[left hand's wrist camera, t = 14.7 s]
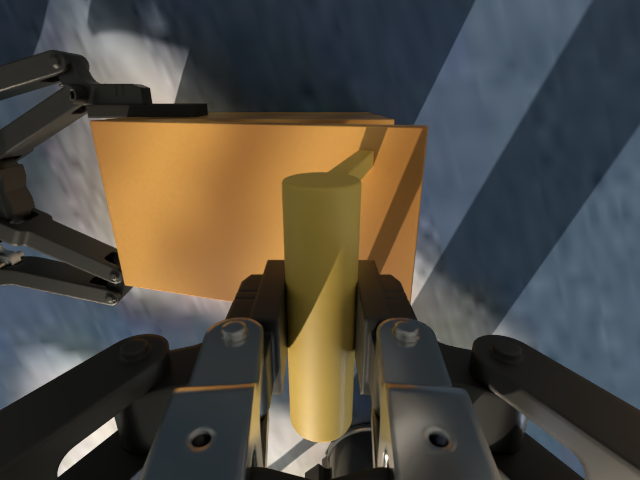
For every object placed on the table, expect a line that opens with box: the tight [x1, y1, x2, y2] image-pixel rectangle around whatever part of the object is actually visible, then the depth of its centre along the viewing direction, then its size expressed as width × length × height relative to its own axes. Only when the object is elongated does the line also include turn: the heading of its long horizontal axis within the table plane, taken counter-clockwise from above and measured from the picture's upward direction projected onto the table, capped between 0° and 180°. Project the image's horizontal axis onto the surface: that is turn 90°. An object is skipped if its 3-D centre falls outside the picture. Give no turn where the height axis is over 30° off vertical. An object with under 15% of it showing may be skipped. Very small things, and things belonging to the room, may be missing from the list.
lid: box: [90, 120, 428, 442], centre depth 15 cm, size 17×10×9 cm, turn 90°
